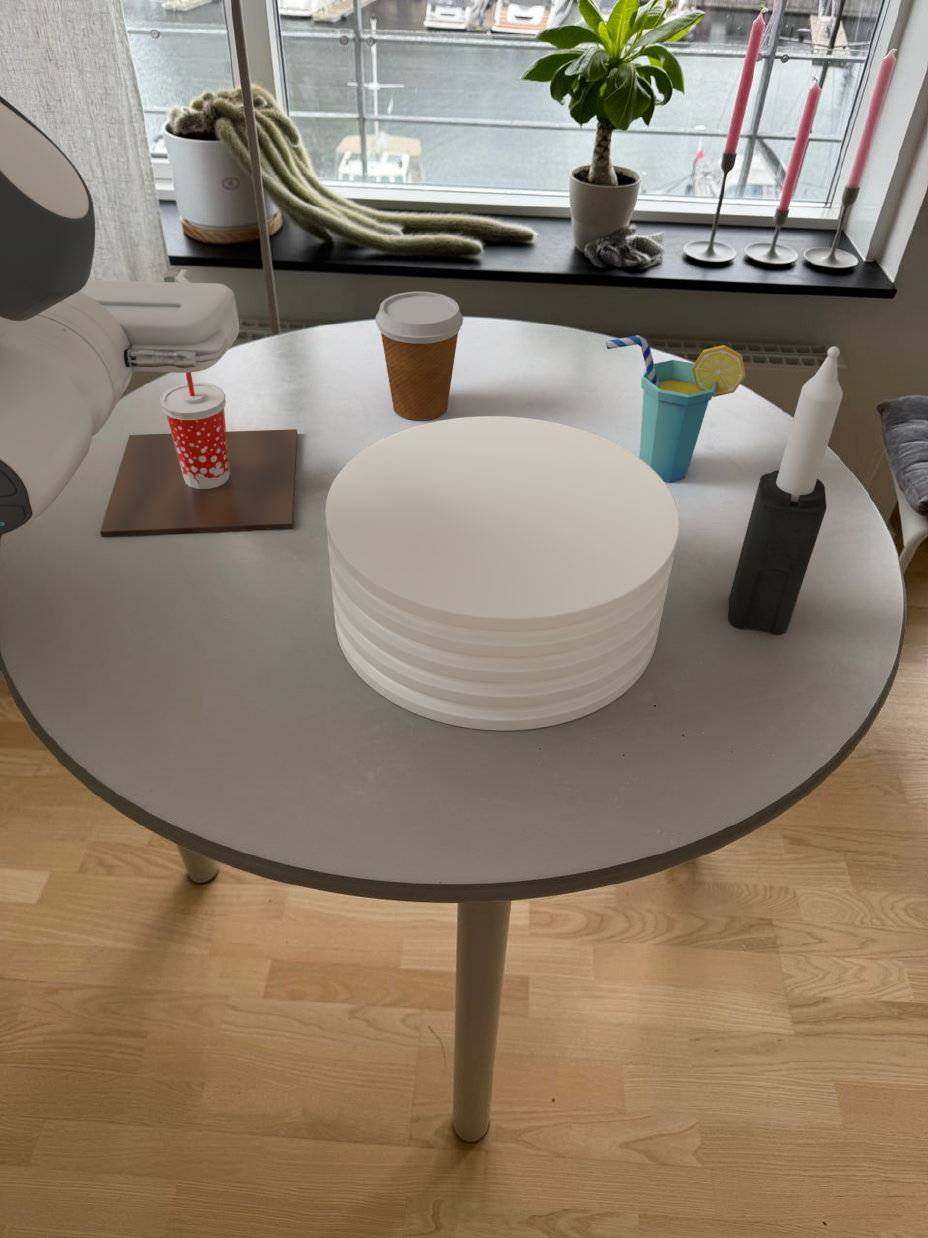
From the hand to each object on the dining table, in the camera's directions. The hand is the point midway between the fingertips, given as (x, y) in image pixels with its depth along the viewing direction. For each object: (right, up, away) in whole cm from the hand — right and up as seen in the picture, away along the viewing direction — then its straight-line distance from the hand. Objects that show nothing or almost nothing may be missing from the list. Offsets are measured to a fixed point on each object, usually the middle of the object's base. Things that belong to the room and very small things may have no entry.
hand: (118, 277), depth 73 cm
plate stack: (+29, -25, +12) cm, 40 cm away
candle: (+52, -25, +12) cm, 59 cm away
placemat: (0, -12, +26) cm, 29 cm away
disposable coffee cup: (+21, -1, +39) cm, 44 cm away
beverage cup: (0, -11, +26) cm, 28 cm away
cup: (+46, -10, +30) cm, 56 cm away
